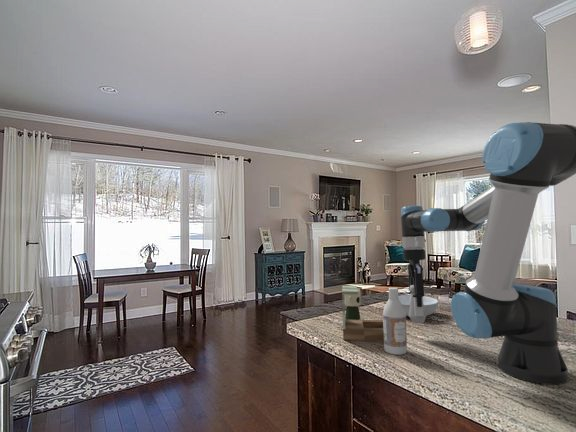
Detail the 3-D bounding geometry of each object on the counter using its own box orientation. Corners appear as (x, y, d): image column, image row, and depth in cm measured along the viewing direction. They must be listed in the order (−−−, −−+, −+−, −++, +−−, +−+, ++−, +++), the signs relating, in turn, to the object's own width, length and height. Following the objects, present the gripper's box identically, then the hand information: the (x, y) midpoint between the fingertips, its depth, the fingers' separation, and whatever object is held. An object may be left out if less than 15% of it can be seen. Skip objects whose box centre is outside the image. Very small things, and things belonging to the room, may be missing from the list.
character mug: (359, 325, 132) (358, 292, 132) (341, 323, 134) (341, 291, 135) (363, 318, 142) (362, 288, 142) (347, 316, 144) (346, 287, 145)
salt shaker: (428, 324, 112) (425, 286, 113) (410, 324, 113) (408, 286, 114) (424, 320, 117) (422, 284, 118) (407, 319, 119) (406, 284, 119)
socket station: (393, 342, 111) (391, 292, 112) (343, 340, 114) (342, 291, 115) (388, 331, 123) (387, 286, 124) (343, 329, 126) (342, 285, 127)
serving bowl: (409, 307, 160) (408, 293, 160) (448, 316, 142) (448, 300, 142) (379, 313, 149) (378, 298, 149) (418, 324, 131) (417, 307, 131)
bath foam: (391, 356, 99) (389, 290, 100) (380, 348, 106) (378, 287, 107) (411, 354, 101) (409, 289, 101) (399, 346, 107) (397, 285, 108)
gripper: (431, 249, 107) (435, 320, 105) (418, 247, 126) (422, 308, 124) (408, 250, 108) (411, 320, 107) (398, 248, 127) (401, 308, 125)
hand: (417, 313), depth 115 cm, fingers closed on salt shaker, 6 cm apart
